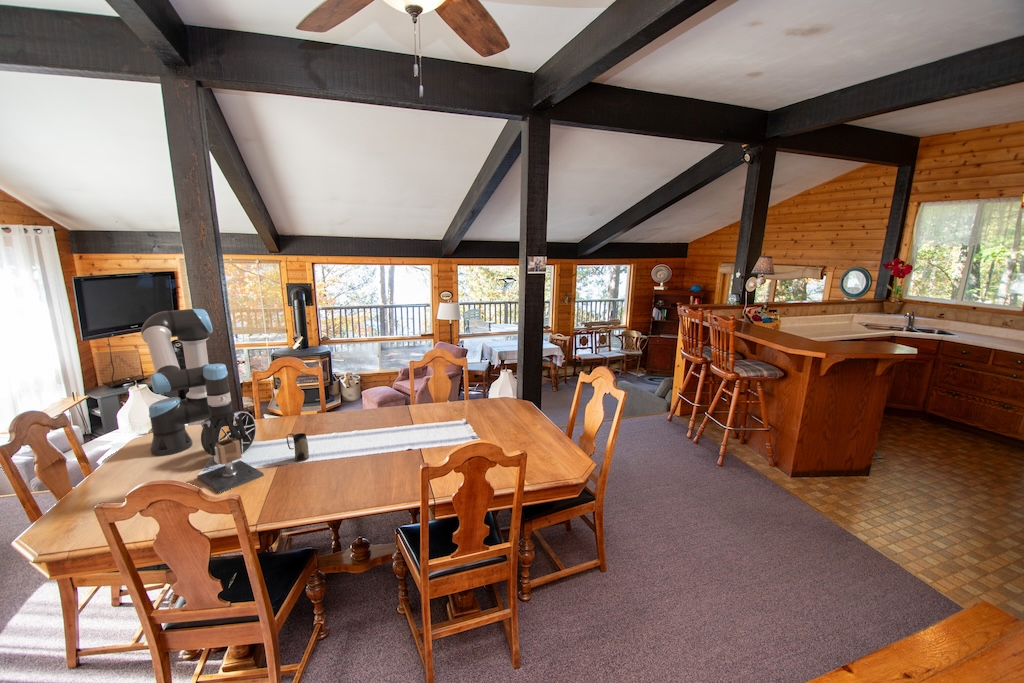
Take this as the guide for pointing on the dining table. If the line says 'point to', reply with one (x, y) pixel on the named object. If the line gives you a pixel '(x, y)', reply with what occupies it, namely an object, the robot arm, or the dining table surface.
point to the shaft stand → (230, 476)
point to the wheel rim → (249, 429)
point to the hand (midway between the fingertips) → (228, 458)
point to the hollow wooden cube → (228, 450)
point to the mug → (300, 447)
